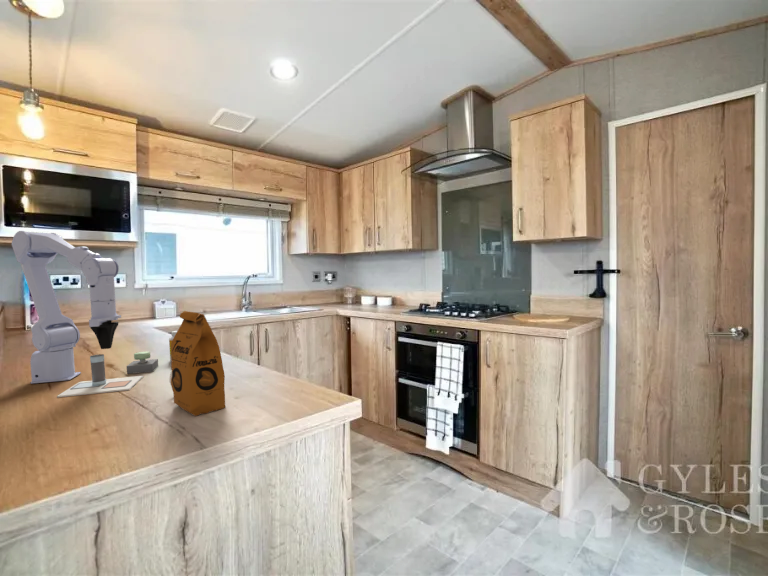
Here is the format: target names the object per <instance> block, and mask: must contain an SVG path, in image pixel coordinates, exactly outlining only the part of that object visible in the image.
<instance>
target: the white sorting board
mask: <svg viewBox="0 0 768 576" xmlns="http://www.w3.org/2000/svg"><path fill="white" fill-rule="evenodd" d="M144 377H145V376H144V375H137V376H136V375H135V376H126V377H115V378H106V384H103V385H99V386H92V380H86V381H85V380H84V381H83V380H82V381H78V382H77V383H75V384H73V385H72V386H70V387H69V388H67V389H66V390H64V391H63V392H61V393H60V394H58V395H57V396H56V398H65V397H66V398H67V397H73V396H74V397H75V396H76V397H77V396H84V395H95V394H104V393H112V392H113V393H115V392H124V391H130V390H131V389H132V388H134V387H135V386H136V385H137V384H138V383H139V382H140V381H141V380H143V379H144Z"/></svg>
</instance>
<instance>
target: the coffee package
mask: <svg viewBox="0 0 768 576" xmlns="http://www.w3.org/2000/svg"><path fill="white" fill-rule="evenodd" d="M179 318H180V319H182V322H181V324H180V326H179V328H178V329H177V330H176V331H177V333H176V335H175V337H174V339H173V341H172V343H171V360H170V363H171V364H170V365H171V366H170V367H171V371H172V378H171V384H170V386H171V389H172V392H173V404H175V405H176V406H177V407H180V408H181V409H182V410H184V411H185V412H187V413H188V414H191V415H193V416H194V417H197V416H199V415H201V414H202V415H203V414H209V413H212V412H216V411H220V410H223V409H226V393H225V378H226V377H225V370H224V366H223V358H222V354H221V349H220V346H219V343H218V340H217V337H216V335H215V334H214V332H213V330H212V327H211V326H210V324H209V322H208V321H207V318H206V316H205V314H204V313H200V312H194V311H188V310H187V311H186V310H184V311H182V312H180V314H179Z"/></svg>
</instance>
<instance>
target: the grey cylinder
mask: <svg viewBox="0 0 768 576" xmlns="http://www.w3.org/2000/svg"><path fill="white" fill-rule="evenodd" d="M89 360H90V371H91V381H92V386H99V385H103V384H106V379H107V377H106V365H105V354H101V353H99V354H94V355H90V357H89Z"/></svg>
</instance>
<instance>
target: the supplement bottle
mask: <svg viewBox="0 0 768 576" xmlns="http://www.w3.org/2000/svg"><path fill="white" fill-rule="evenodd" d="M177 331H178V330H174V331H173V330H172V331H171V333H170V334H171V336H170V337H169V339H168V341H169V360H170V361H171V343H172V341H173V339H174V337H175V335H176V333H177Z"/></svg>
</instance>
